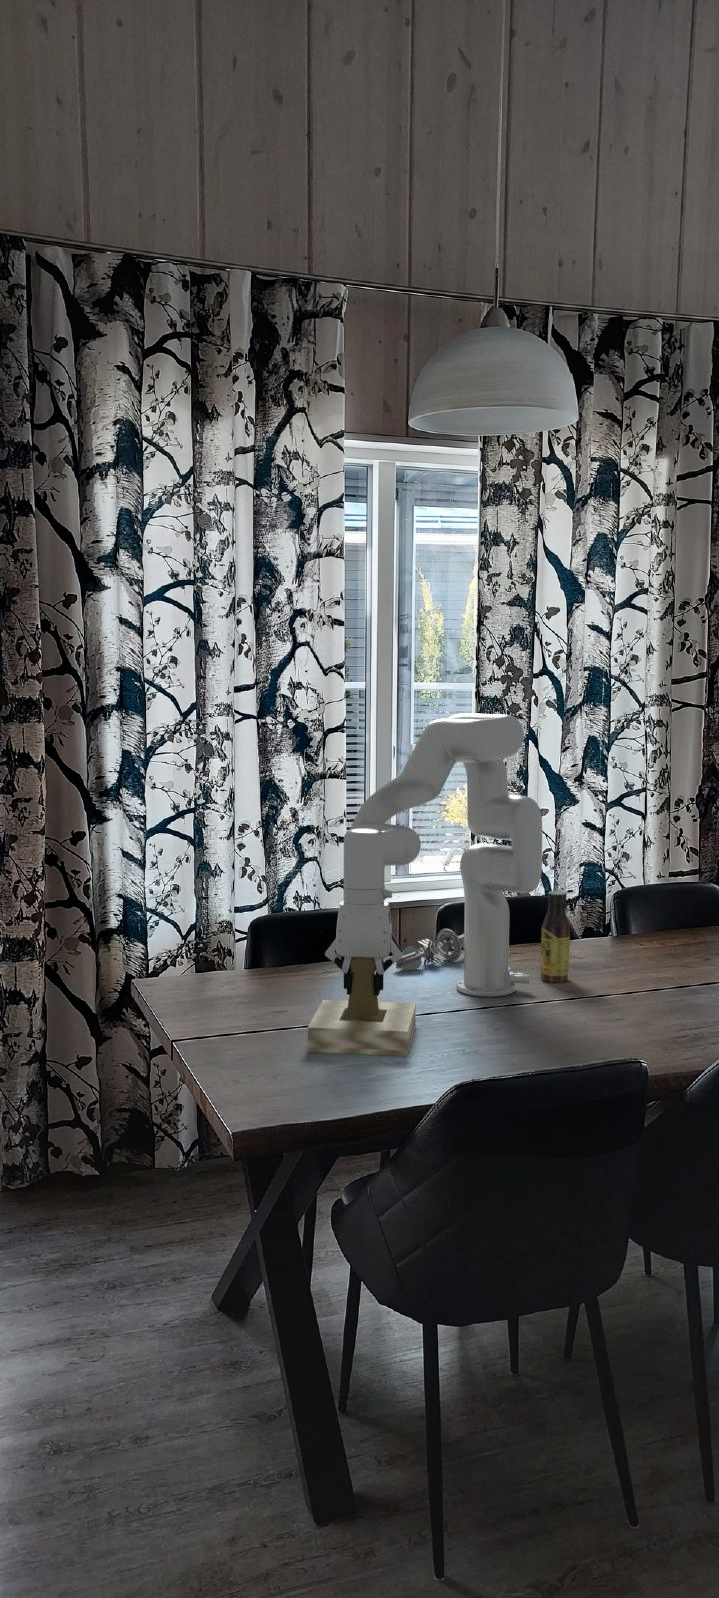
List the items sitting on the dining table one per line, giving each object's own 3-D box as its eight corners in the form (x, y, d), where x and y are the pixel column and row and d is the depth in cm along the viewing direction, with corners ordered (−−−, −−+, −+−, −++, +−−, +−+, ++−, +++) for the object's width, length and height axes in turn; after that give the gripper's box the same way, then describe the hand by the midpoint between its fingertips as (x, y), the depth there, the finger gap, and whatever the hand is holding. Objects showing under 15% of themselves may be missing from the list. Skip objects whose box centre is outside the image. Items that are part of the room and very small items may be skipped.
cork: (380, 1008, 218) (381, 951, 217) (377, 1018, 212) (378, 959, 211) (348, 1007, 219) (349, 950, 218) (345, 1016, 213) (345, 958, 212)
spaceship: (515, 921, 282) (492, 905, 287) (410, 959, 259) (387, 940, 264) (507, 948, 285) (485, 931, 290) (403, 987, 263) (380, 969, 268)
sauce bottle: (537, 976, 261) (538, 889, 259) (564, 976, 262) (566, 889, 260) (544, 984, 255) (545, 894, 253) (572, 983, 255) (574, 894, 253)
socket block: (415, 1026, 224) (415, 1003, 224) (407, 1056, 206) (407, 1031, 206) (323, 1022, 226) (323, 999, 226) (307, 1052, 209) (307, 1027, 208)
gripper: (411, 893, 216) (410, 989, 218) (321, 891, 218) (321, 986, 220) (408, 901, 209) (407, 1000, 211) (315, 898, 211) (315, 997, 213)
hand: (363, 992), depth 215 cm, fingers closed on cork, 4 cm apart
